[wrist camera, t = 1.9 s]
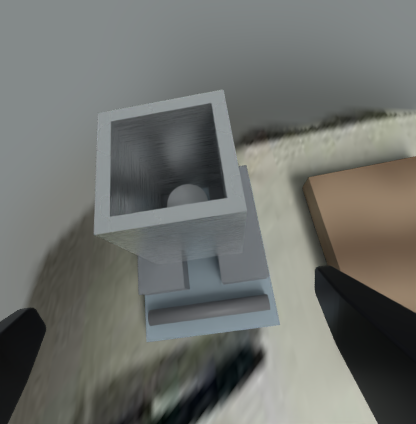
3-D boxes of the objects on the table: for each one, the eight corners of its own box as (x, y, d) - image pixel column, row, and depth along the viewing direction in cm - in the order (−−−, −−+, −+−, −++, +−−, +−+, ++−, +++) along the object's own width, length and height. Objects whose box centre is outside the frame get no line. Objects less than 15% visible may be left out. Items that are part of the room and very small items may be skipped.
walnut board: (519, 350, 16) (556, 357, 14) (363, 375, 17) (379, 384, 15) (420, 165, 21) (438, 151, 19) (302, 188, 22) (308, 177, 20)
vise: (275, 322, 18) (297, 334, 12) (155, 338, 19) (112, 357, 12) (248, 187, 22) (252, 139, 16) (149, 203, 23) (113, 163, 16)
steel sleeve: (242, 252, 16) (247, 210, 9) (158, 264, 17) (93, 234, 9) (228, 176, 18) (223, 89, 11) (154, 189, 19) (97, 113, 11)
